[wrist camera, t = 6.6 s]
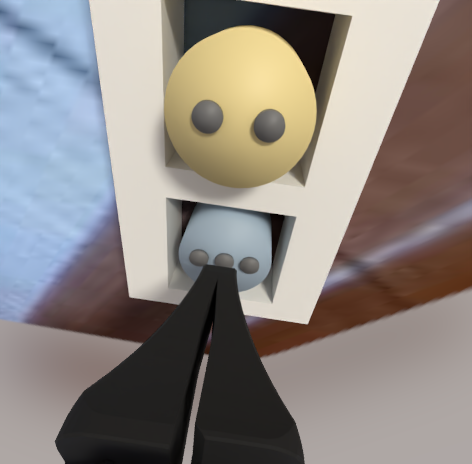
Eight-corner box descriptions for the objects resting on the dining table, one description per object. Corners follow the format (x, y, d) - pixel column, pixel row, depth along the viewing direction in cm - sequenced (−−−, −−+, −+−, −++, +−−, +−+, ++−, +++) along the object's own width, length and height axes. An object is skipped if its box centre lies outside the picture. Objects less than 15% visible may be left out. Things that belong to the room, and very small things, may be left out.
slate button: (264, 260, 18) (262, 301, 16) (190, 249, 18) (177, 288, 16) (278, 195, 16) (280, 232, 13) (193, 182, 16) (177, 217, 13)
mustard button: (291, 161, 13) (296, 200, 10) (186, 145, 13) (164, 180, 10) (321, 34, 10) (338, 43, 7) (188, 15, 10) (159, 18, 7)
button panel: (303, 284, 19) (307, 324, 17) (147, 261, 20) (129, 297, 17) (561, -452, 6) (736, -731, 4) (86, -513, 6) (-25, -824, 4)
